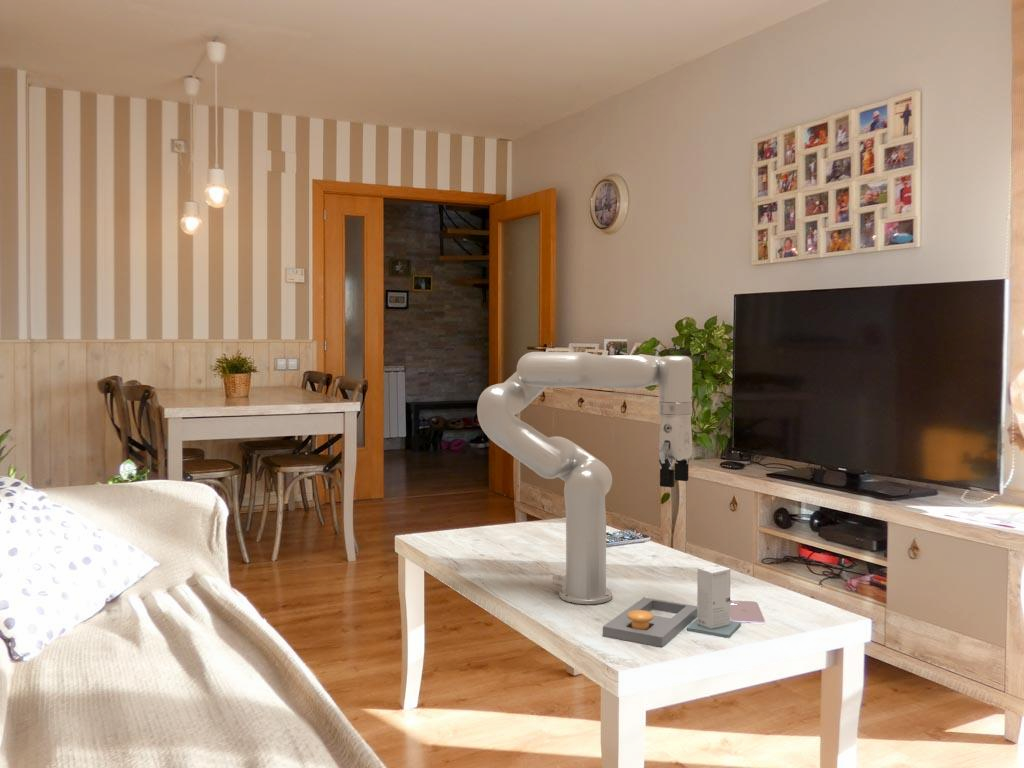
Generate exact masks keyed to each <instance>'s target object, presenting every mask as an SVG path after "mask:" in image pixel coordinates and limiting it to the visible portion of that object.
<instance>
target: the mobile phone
mask: <svg viewBox="0 0 1024 768" xmlns="http://www.w3.org/2000/svg"><path fill="white" fill-rule="evenodd" d="M730 621H735V622H741V624H746V623H765V622H766V620H765V617H764V615H763V612H762V610H761V607H760V606H759V603H758V602H757V601H754V600H753V601H752V600H751V601H750V600H731V599H730ZM765 624H766V623H765Z"/></svg>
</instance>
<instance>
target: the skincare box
mask: <svg viewBox="0 0 1024 768" xmlns="http://www.w3.org/2000/svg"><path fill="white" fill-rule="evenodd" d="M696 586H697V589H696V590H697V591H696V592H697V593H696V601H697V603H696V606H697V617H696V619H697V624H699V625H701V626H703V627H706V628H709V629H713V628H718V627H722V626H726V625H729V624H730V600H731V568H728V567H725V566H720V565H710V566H704V567H699V568H697V585H696Z"/></svg>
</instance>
